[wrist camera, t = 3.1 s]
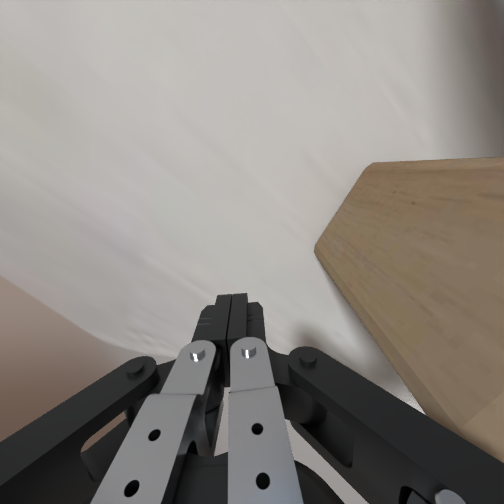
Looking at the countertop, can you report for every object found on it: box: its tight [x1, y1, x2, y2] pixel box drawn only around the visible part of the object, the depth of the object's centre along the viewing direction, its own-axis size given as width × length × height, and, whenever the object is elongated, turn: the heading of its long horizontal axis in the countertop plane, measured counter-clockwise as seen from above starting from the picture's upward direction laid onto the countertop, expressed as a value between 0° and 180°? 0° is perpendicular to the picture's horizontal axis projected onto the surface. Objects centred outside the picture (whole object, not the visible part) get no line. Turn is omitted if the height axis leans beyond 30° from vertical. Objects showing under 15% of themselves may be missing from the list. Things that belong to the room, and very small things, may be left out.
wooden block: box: [314, 157, 504, 463], centre depth 15 cm, size 10×10×20 cm
